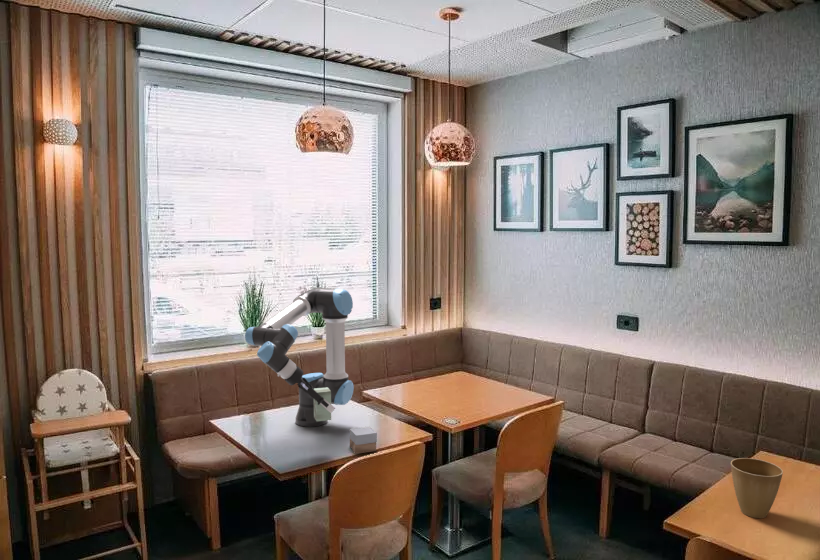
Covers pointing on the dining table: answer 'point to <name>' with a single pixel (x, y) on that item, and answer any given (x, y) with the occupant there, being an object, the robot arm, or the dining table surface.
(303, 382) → the robot arm
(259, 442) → the dining table surface
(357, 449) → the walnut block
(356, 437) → the slate block
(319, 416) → the sage block
